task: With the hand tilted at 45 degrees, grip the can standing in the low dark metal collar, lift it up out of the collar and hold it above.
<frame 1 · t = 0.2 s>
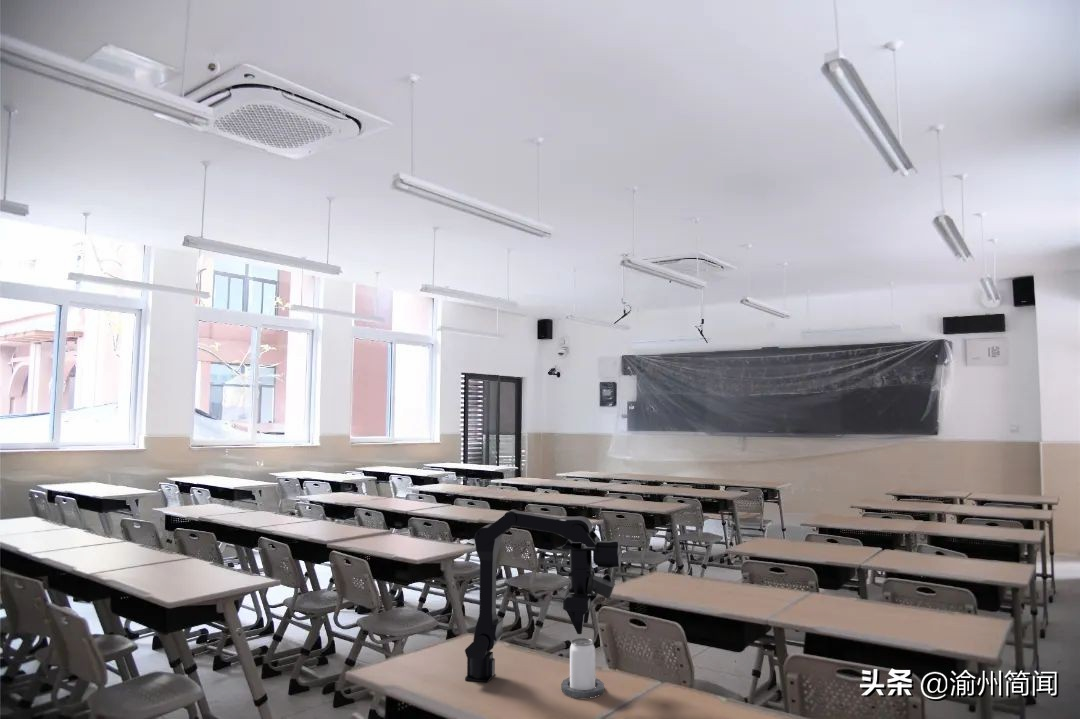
hand: (582, 628, 178), 15 cm above the table, tool pointing down, fingers open, 9 cm apart
collar: (582, 690, 175), on the table
can: (582, 691, 175), resting in collar
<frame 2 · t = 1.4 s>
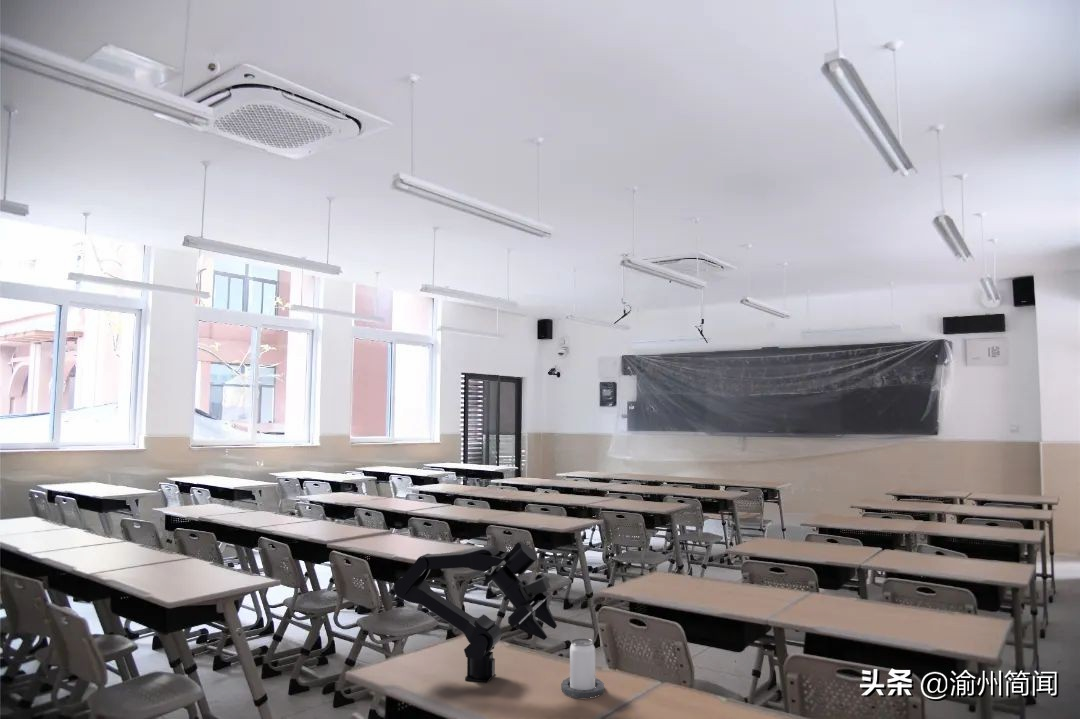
hand: (550, 632, 179), 13 cm above the table, tool tilted 45°, fingers open, 9 cm apart
nothing on the table moved.
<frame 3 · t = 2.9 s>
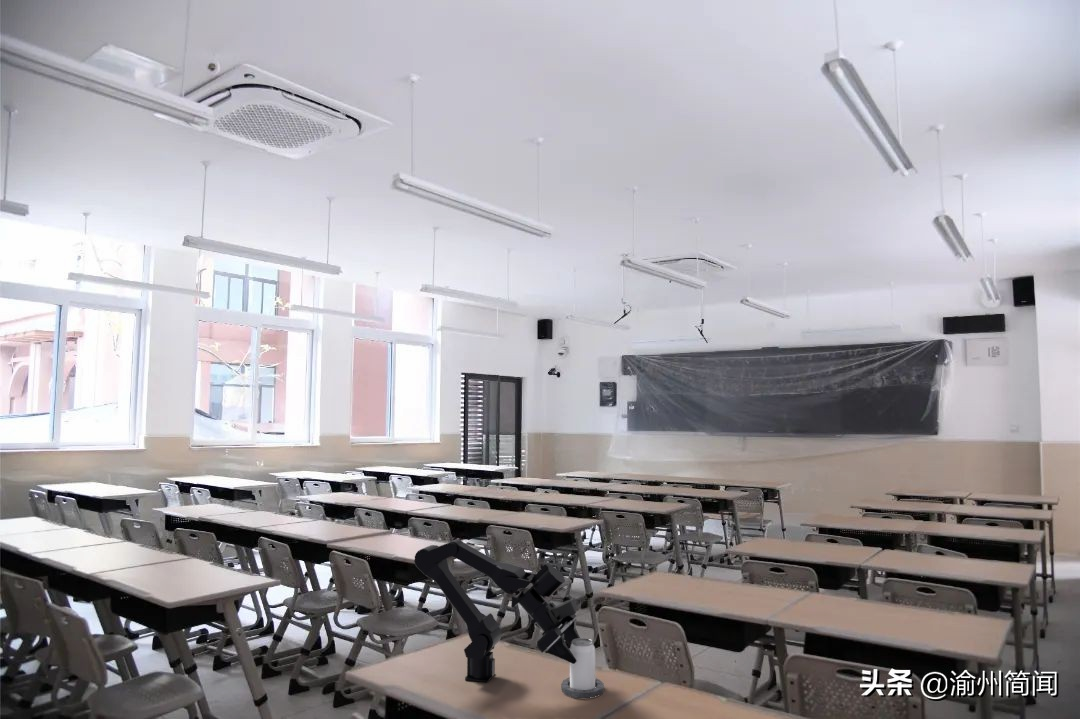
hand: (579, 656, 176), 8 cm above the table, tool tilted 45°, fingers open, 9 cm apart
nothing on the table moved.
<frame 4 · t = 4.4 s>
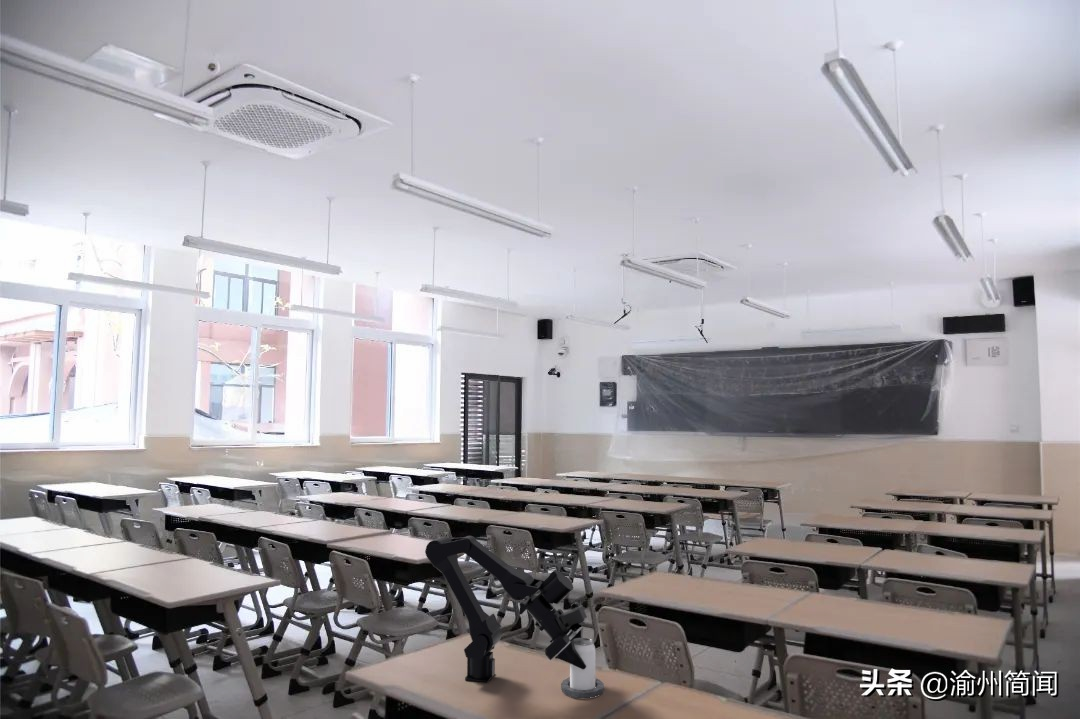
hand: (588, 663, 175), 7 cm above the table, tool tilted 45°, fingers closed on can, 6 cm apart
can: (582, 690, 175), resting in collar, touching gripper
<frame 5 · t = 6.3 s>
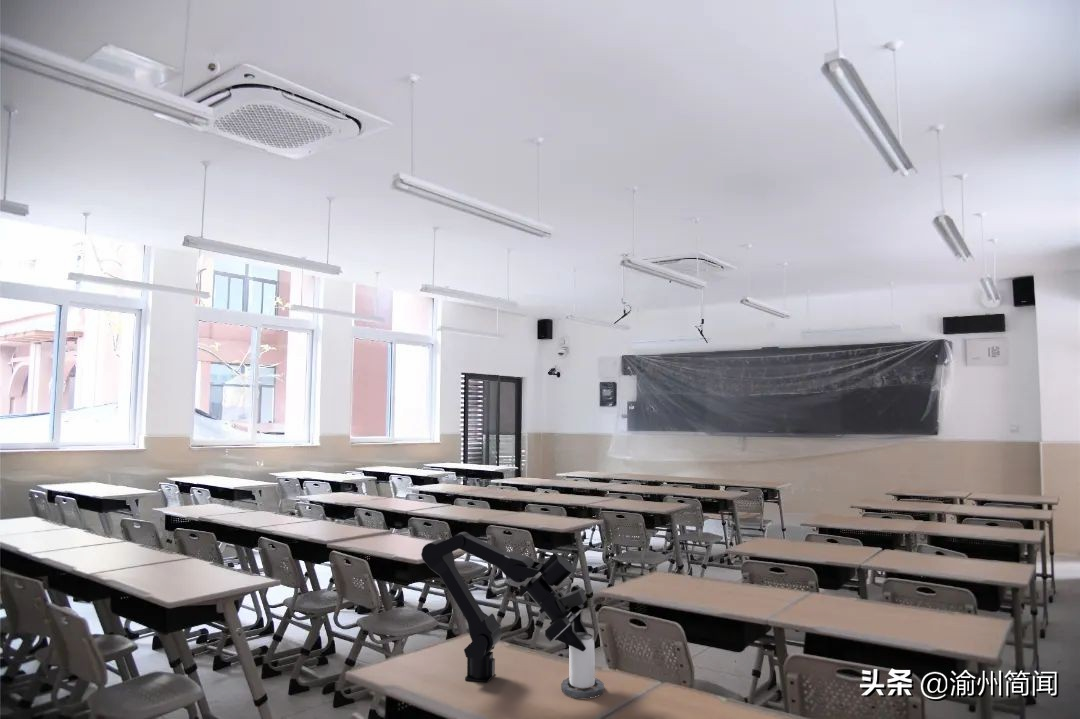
hand: (587, 646, 176), 11 cm above the table, tool tilted 45°, fingers closed on can, 6 cm apart
can: (582, 685, 175), point 1 cm above the table, touching gripper
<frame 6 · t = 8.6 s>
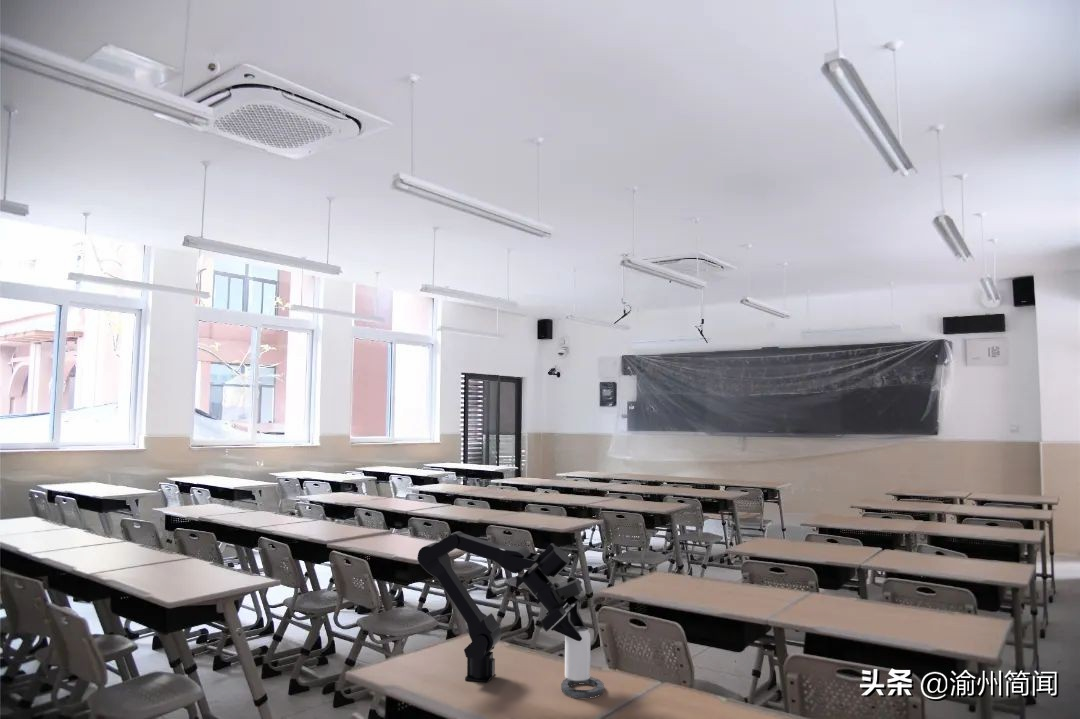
hand: (583, 636, 176), 13 cm above the table, tool tilted 45°, fingers closed on can, 6 cm apart
can: (577, 679, 175), point 3 cm above the table, touching gripper
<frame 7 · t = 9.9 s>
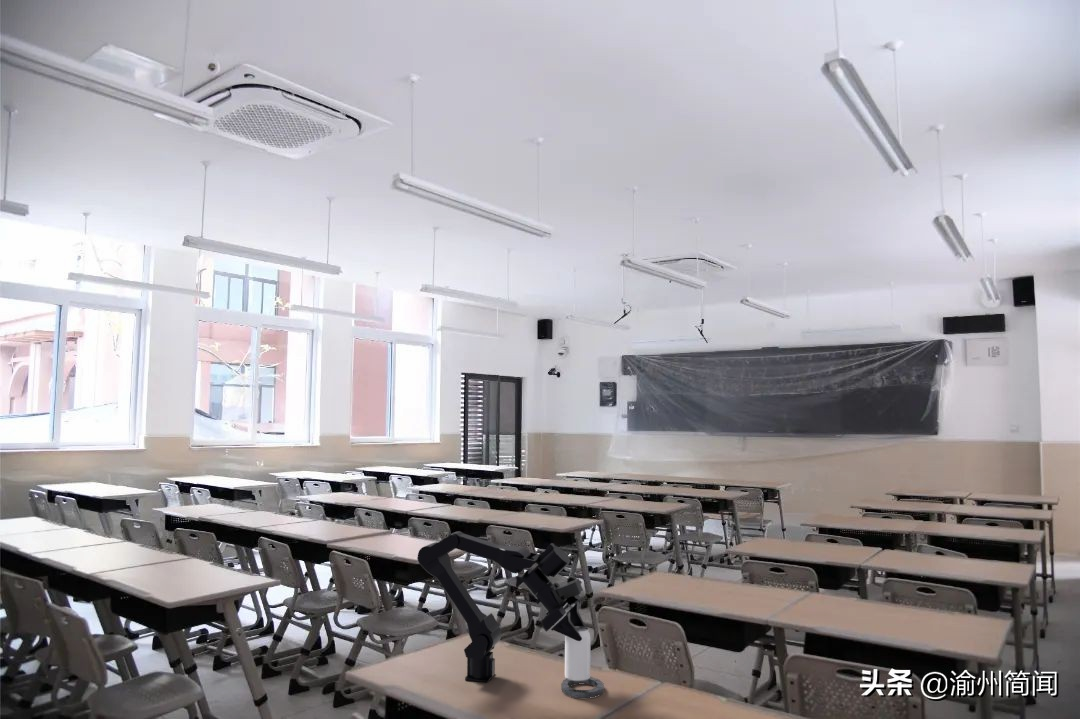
hand: (583, 636, 176), 13 cm above the table, tool tilted 45°, fingers closed on can, 6 cm apart
can: (577, 679, 175), point 3 cm above the table, touching gripper
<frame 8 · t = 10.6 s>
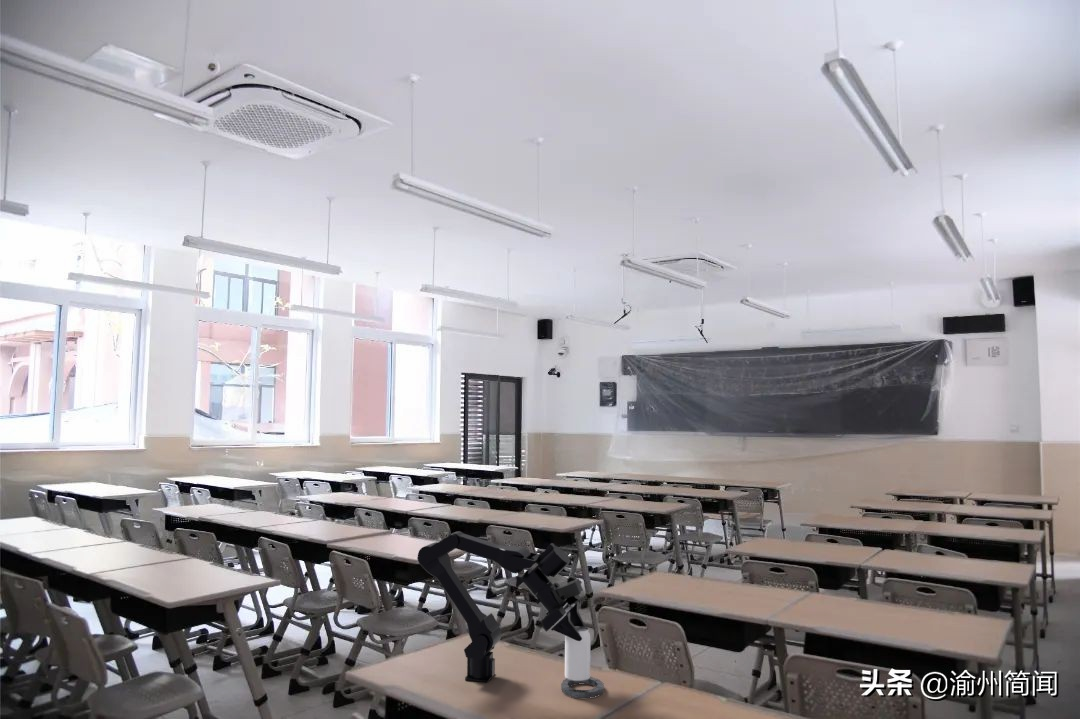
hand: (583, 636, 176), 13 cm above the table, tool tilted 45°, fingers closed on can, 6 cm apart
can: (577, 679, 175), point 3 cm above the table, touching gripper
at the end: the gripper is holding can; can point 3.1 cm above the table; can touching gripper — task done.
